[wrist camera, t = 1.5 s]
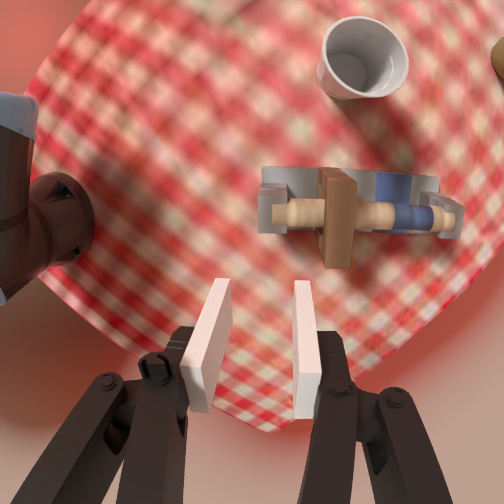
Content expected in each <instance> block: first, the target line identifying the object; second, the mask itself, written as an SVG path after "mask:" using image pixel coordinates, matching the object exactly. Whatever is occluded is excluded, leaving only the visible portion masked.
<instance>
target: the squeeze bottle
mask: <svg viewBox="0 0 504 504" xmlns="http://www.w3.org/2000/svg"><path fill="white" fill-rule="evenodd" d="M491 61H492V65H493V67H494V69H495V71H496V72H497V74H498V75H499V76H500V77H501V78H502V79H504V37H502V38H501V39H500V40H499V41H498V42H497V44H496V45H495V46H494V47H493V49H492V51H491Z"/></svg>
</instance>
